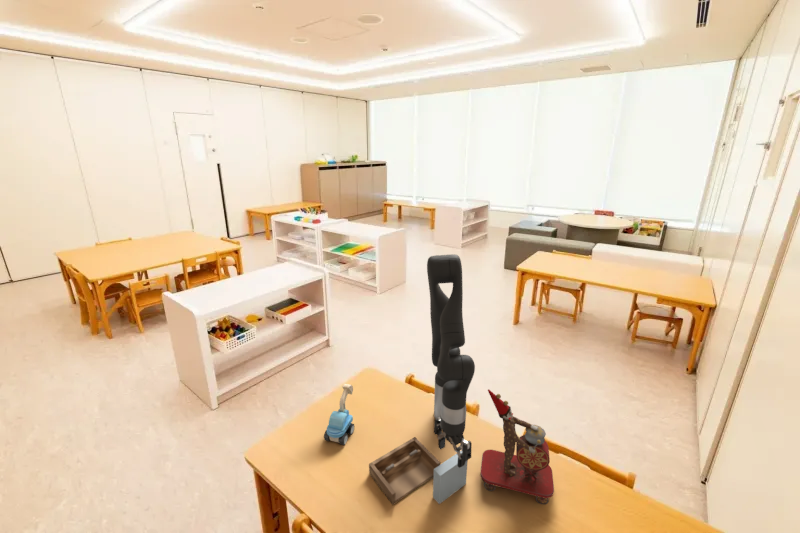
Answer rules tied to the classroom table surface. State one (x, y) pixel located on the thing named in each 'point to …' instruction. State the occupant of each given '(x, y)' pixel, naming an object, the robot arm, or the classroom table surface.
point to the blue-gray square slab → (448, 478)
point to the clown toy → (519, 458)
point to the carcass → (403, 469)
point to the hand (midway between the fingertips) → (450, 456)
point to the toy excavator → (340, 421)
